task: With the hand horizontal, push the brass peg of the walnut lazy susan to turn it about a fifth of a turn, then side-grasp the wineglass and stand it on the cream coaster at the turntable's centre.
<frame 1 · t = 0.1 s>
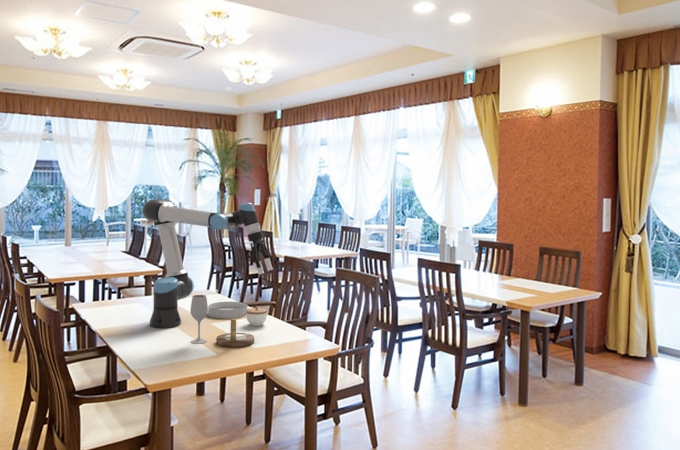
hand: (266, 272, 273), 28 cm above the table, tool tilted 20°, fingers open, 13 cm apart
lidded jar: (256, 325, 275), on the table
wineglass: (198, 342, 242), on the table
dish: (228, 314, 298), on the table
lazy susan: (235, 328, 241), point 6 cm above the table, hinge at 0.0°
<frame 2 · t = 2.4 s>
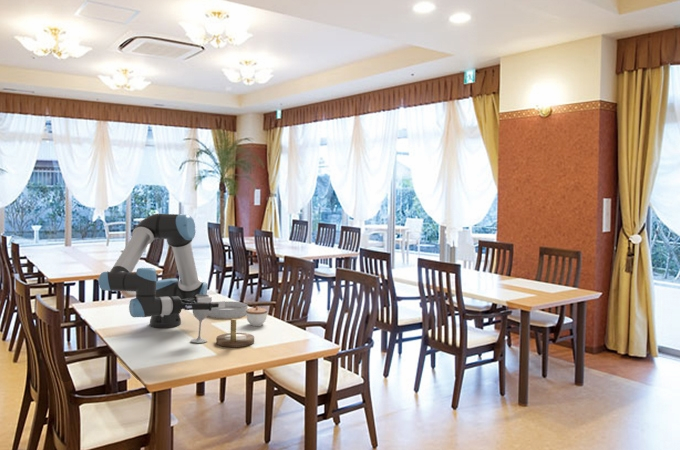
hand: (217, 302, 231), 20 cm above the table, tool horizontal, fingers open, 13 cm apart
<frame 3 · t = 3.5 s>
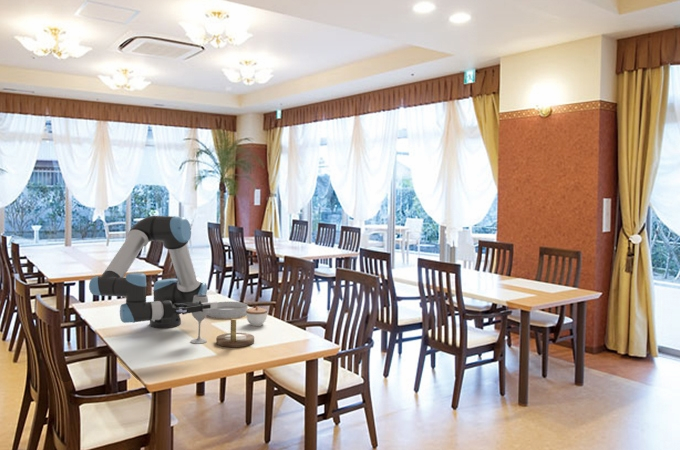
hand: (216, 305, 229), 20 cm above the table, tool horizontal, fingers closed
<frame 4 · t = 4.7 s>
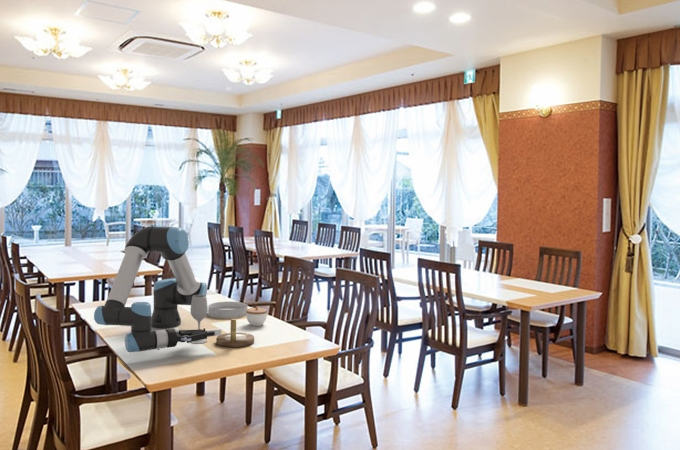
hand: (220, 331, 231), 8 cm above the table, tool horizontal, fingers closed
nothing on the table moved.
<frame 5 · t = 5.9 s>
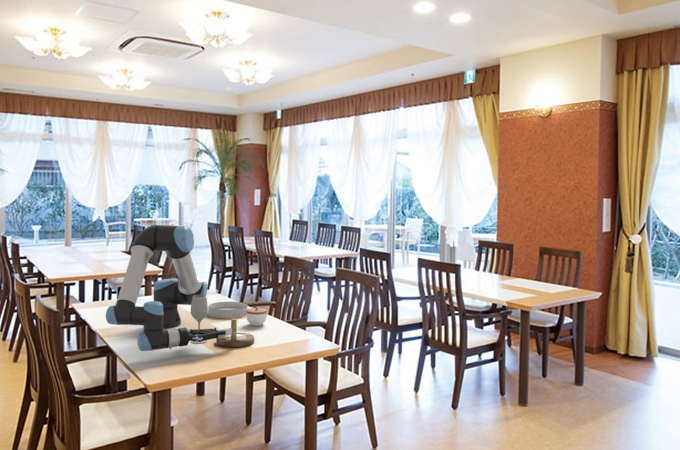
hand: (231, 331, 233), 7 cm above the table, tool horizontal, fingers closed
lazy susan: (235, 328, 241), point 6 cm above the table, hinge at 1.9°, touching gripper
everything else where it was.
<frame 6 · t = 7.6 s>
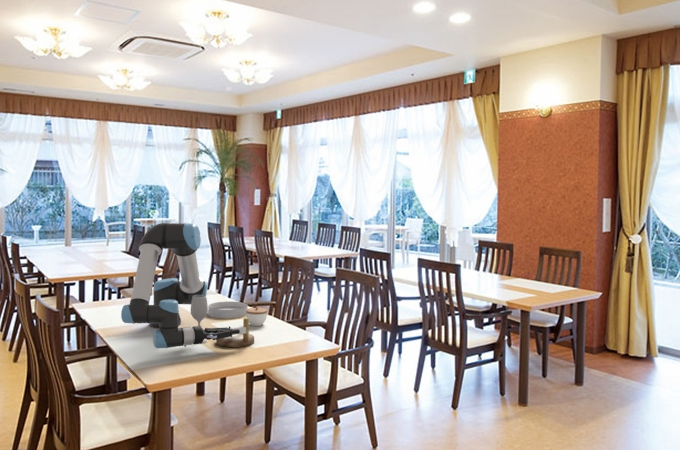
hand: (245, 330, 235), 7 cm above the table, tool horizontal, fingers closed
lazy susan: (235, 328, 241), point 6 cm above the table, hinge at 49.2°, touching gripper
everything else where it was.
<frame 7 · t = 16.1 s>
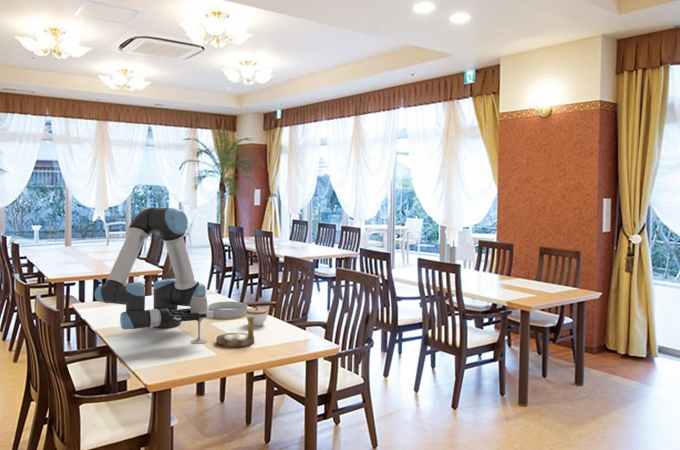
hand: (209, 312, 244), 13 cm above the table, tool horizontal, fingers closed on wineglass, 8 cm apart
wineglass: (198, 342, 242), on the table, touching gripper
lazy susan: (235, 328, 241), point 6 cm above the table, hinge at 86.7°
everything else where it was.
when the fingers open (16 cm above the table, at t = 21.4 s): wineglass stays where it is, resting on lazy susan.
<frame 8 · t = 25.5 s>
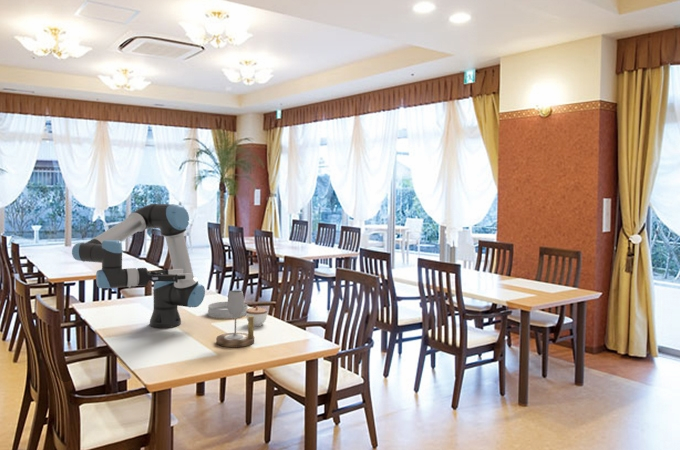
hand: (187, 274, 233), 32 cm above the table, tool horizontal, fingers open, 13 cm apart
wineglass: (235, 337, 242), point 2 cm above the table, touching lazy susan
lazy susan: (235, 328, 241), point 6 cm above the table, hinge at 86.7°, touching wineglass
everything else where it was.
at the end: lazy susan at +87° (first picture: +0°); wineglass 0.1 cm from the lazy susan (horizontally); wineglass tilted 0° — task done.
